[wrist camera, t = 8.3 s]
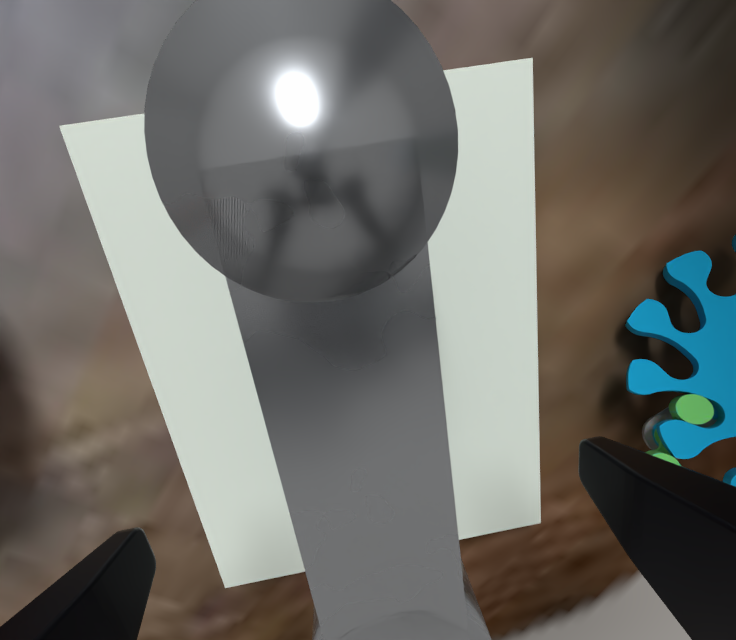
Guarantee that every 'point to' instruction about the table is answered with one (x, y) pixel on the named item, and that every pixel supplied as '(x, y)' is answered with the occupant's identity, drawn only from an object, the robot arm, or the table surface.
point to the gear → (709, 359)
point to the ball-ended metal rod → (329, 281)
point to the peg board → (228, 356)
